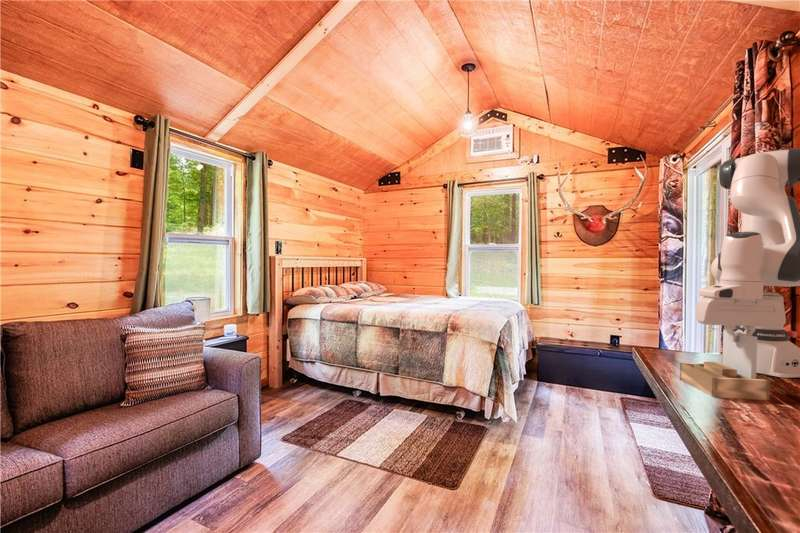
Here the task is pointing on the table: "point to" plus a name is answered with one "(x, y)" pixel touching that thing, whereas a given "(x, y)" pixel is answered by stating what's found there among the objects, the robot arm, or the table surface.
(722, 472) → the table surface
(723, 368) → the offcut top
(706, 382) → the rack
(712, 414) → the table surface
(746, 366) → the sheet
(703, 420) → the table surface
